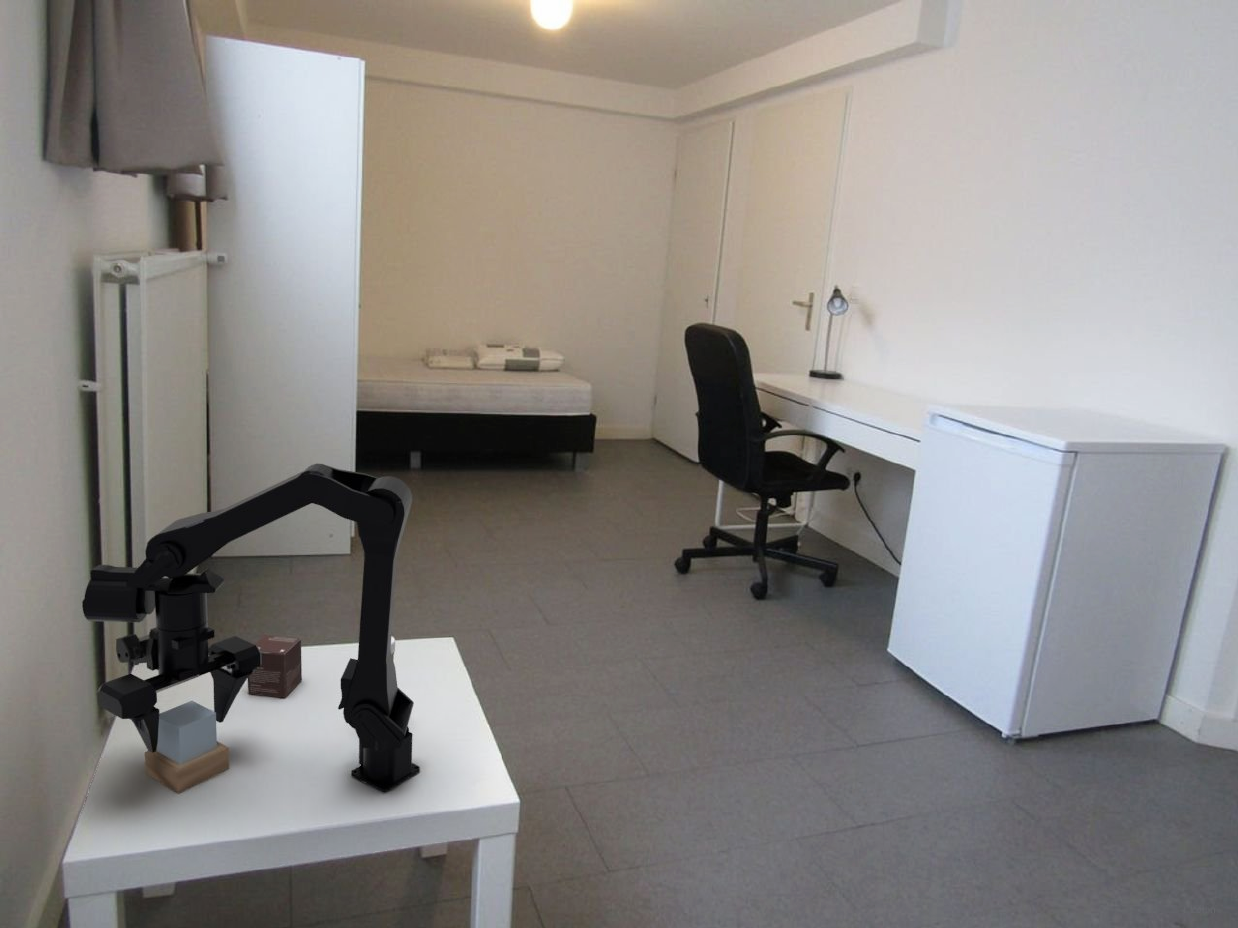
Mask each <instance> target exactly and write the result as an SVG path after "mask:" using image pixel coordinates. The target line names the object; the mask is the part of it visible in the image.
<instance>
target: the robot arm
mask: <svg viewBox="0 0 1238 928" xmlns="http://www.w3.org/2000/svg"><path fill="white" fill-rule="evenodd" d="M412 502H413V495H412V491H411V489H410V486H408V485H407V484H406V483H405V481H403V480H401V479H400V478H398V477H395V476H391V475H390V476H389V475H388V476H381V477H377V476H375V475H371V474H368V473H363V472H359V471H358V472H357V471H354V470H353V471H352V470H345V469H340V468H335V467H333V466H329V465H326V464H324V463H314V464H311V465H309V466H308V467H307V468H305V470H303V471H300V472H298V473H296V474H294V475H292V476H289V477H288V478H286V479H283V480H281V481H279V482H277V483H275V484H273V485H271V486H269V487H267V488H265V489H263V490H260V491H259V492H256V493H254V494H252V495H249V496H248V497H246V498H244V499H241V500H239V501H238V502H235V503H234V504H231V505H228V506H227V507H225V508H221V509H217V510H214V511H207V512H201V513H197V514H195V515H190V516H187V517H181V518H179V519H176V520H175V521H173V522H171V523H170V524H169V525H167V526H166V527H165V528H163V529H162V530H161V531H159V532H158V533H156V534H155V535H154V536H152V537H151V538H150V539H149V540H148V542H147V543H146V548H145V552H144V553H145V559H144V561H142V563H141V564H140V565H139V566H138V567H132V566H131V567H130V566H129V567H128V566H115V565H109V564H98V565H97V566H95V567H94V568H92V569H91V570H90V571H89V572H90V575H89V576H90V580H89V581H88V584H87V586H86V588H85V591H84V592H85V594H84V599H82V601H81V602H82V603H81V604H82V613H83V615H84V618H85V620H86V621H88V622H108V623H109V622H113V623H141V622H142V621H144V620H145V619H146V617H147V615H152V613H153V612H155V627H154V628H151V629H150V631H149V633H148V634H146V635H142V636H140V637H138V635H137V634H136V633H135V634H127V635H125V636H121V637H118V638H116V639H115V641H116V643H115V652H116V655H117V660H118V661H119V663H121V664H125V663H126V664H127V663H131V662H133V665H134V666H138V665H140V664H146V669H148V670H150V671H152V672H153V671H155V670H156V671H157V673H158V675H154V676H151V677H149V678H146V679H142V678H141V677H138V676H137V675H135V674H133V673H129V674H125V675H123V676H120V677H117V678H114V679H112V680H111V679H110V680H108V681H106V682H104V683H102V684H101V685H100V687H99V688H98V690H97V693H96V695H97V696H96V697H97V706H98V707H100V708H101V709H104V710H106V711H107V712H109V713H111V714H113V715H114V716H116V717H118V718H120V719H121V720H130V721H131V722H132V723H133V725H134V727H135V728H136V730H137V732H138V734H139V736H140V737H141V740H142V742H143V743H144V745H145V748H146V749H147V751H150V752H152V753H154V752H156V748H157V744H158V729H159V714H160V708H158V707H156V706H155V705H157V702H158V693H160V692H163V691H165V690H168V689H171V688H173V687H175V686H178V685H181V684H185V683H186V682H189V681H192V680H193V679H196V678H198V677H201V676H203V675H206V674H208V673H210V676H211V677H212V680H213V683H212V684H213V711H214V712H216V723H219V724H220V723H223V722H224V720H225V719H226V716H227V715H228V713H229V711H230V709H231V707H232V706H233V703H234V701H235V699H236V697H237V695H238V694H239V692H240V690H241V689H242V687H243V686H244V684H245V682H246V681H247V680H248V677H249V676H251V675H252V674H253V669H255V668H257V667H260V666H261V664H262V662H261V651H260V649H259V647H258V646H256V645H254V644H255V643H252V642H250V641H247V640H245V639H243V638H240V637H238V636H237V635H234V636H231V637H229V638H225V639H223V640H220V641H217V642H215V643H212V644H211V645H210V646H209V640H211V639H213V638H215V629H214V628H211V627H209V626H208V624H209V623H208V597H207V596H208V595H207V594H215V593H216V592H217V591H218V590H219V588H220V587H221V586H222V585H223V584H224V583H225V581H226V580H225V578H223V577H222V576H221V575H219V574H217V573H216V572H214V571H213V569H212V568H211V567H207V568H206V569H205V570H204V571H202V572H201V573H191V571H192V570H193V569H195V568H197V567H198V566H199V565H201V564H202V563H203V562H205V561H207V560H208V559H209V558H210V557H212V556H213V555H214V554H216V553H217V552H218V551H219V550H221V549H222V548H224V547H225V546H227V545H228V544H230V542H233V541H235V540H237V539H239V538H241V537H244V536H245V535H247V534H250V533H252V532H254V531H256V530H258V529H260V528H263V527H265V526H266V525H269V524H271V523H272V522H275V521H277V520H279V519H281V518H284V517H286V516H288V515H290V514H292V513H294V512H296V511H298V510H300V509H302V508H305V507H306V506H307V507H308V505H311V504H314V505H317V506H320V507H322V508H324V509H327V510H328V511H330V512H331V513H333V514H336V515H337V516H338V517H341V518H343V519H344V520H345V519H346V520H347V521H352V522H355V523H357V524H356V525H357V533H358V539H359V541H360V546H361V549H362V553H363V558H364V559H363V572H362V573H363V575H362V589H361V603H360V617H359V618H360V619H359V631H358V632H359V634H358V649H357V650H358V651H357V659H355V658H349V660H348V662H347V665H346V667H345V668H344V671H343V673H342V676H341V677H340V690H341V691H340V692H341V699H340V703H339V704H338V707H337V709H338V710H342V709H343V711H342V713H343V719H344V721H345V723H346V724H348V725H349V726H350V727H351V728H353V729H354V731H355V732H356V734H357V738H358V764H359V766H357V767H355V768H354V769H352V770H351V771H350V775H351V777H353V778H355V779H357V780H359V781H361V782H363V783H365V784H367V785H369V786H371V787H373V788H375V789H377V790H379V791H381V792H383V793H388V792H390V790H392V789H394V788H395V787H397V786H399V785H400V784H402V783H403V782H405V781H407V780H408V779H410V778H411V777H413V776H414V775H416V774H417V773H419V772H420V770H421V767H420V766H419V765H417V764H416V763H413V733H412V732H410V728H409V722H410V719H411V715H412V712H413V707H414V701H413V700H412V699H411V698H410V697H409V696H408V695H407V694H406V693H405V692H403V690H401V689H400V688H399V686H398V679H397V673H396V672H397V671H396V666H395V662H394V660H393V658H392V655H391V637H393V636H392V635H393V620H394V609H395V608H394V607H395V594H396V584H397V583H396V581H397V569H398V567H397V566H398V555H399V549H400V545H401V542H402V539H403V535H404V532H405V528H406V525H407V521H408V519H409V518H408V517H409V513H410V510H411V507H412ZM154 610H155V611H154Z"/></svg>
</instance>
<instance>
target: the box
mask: <svg viewBox="0 0 1238 928" xmlns="http://www.w3.org/2000/svg"><path fill="white" fill-rule="evenodd" d="M253 644H254V645H256V646H258V647H259V649H260V651H261V662H262V664H261V666H260V667H257V668H255V669H253V674H252V675H251V676H249V677H248V678H247V691H248V695H256V696H257V695H258V696H267V697H268V696H269V697H277V698H287V697H288V696H289V694H291V692H293V690H294V689H295V688H296V687H297V686H298V685H299V684H300V683H301V681H302V680H303V678H302V677H303V676H302V670H303V669H302V638H300V637H299V638H298V637H290V636H280V635H279V636H278V635H271V634H265V635H263V636H262V637H261V638H259V640H257V641H256V642H255V643H253Z"/></svg>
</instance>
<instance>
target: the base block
mask: <svg viewBox="0 0 1238 928" xmlns="http://www.w3.org/2000/svg"><path fill="white" fill-rule="evenodd" d="M229 751H230V750H229V747H228V746H226V745H225V744H223V743H220V742H219V741H217V748H216V749H213V750H211V751H209V752H207V753H205V754H203V755H201V756H199V757H196V758H194V759H192V760H190V761H188V762H186V763H184V764H181V765H180V764H178V763H177V762H175V761H173V760H171V759H170V758H168V757H166V756H164V755H163V754H161V753H159V752H158V751H157V748H156V752H154V753H152V752H150V751H149V750H146V751H145V752H144V766H145V767H144V768H145V770H144V771H145V774H146V775H148V776H149V777H151V778H153V779H154V780H155V781H158V782H159V783H161V784H162V785H164V786H166V787H167V788H168V789H170V790H172V791H173V792H176V793H177V794H180V793H182V792H185V791H186V790H188V789H190V788H193V787H194V786H196V785H199V784H201V783H202V782H205V781H206V780H209V779H211V778H212V777H215V776H216V775H218V774H221V773H223V772H226V770H227V771H228V770H229V769H230V753H229Z"/></svg>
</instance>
